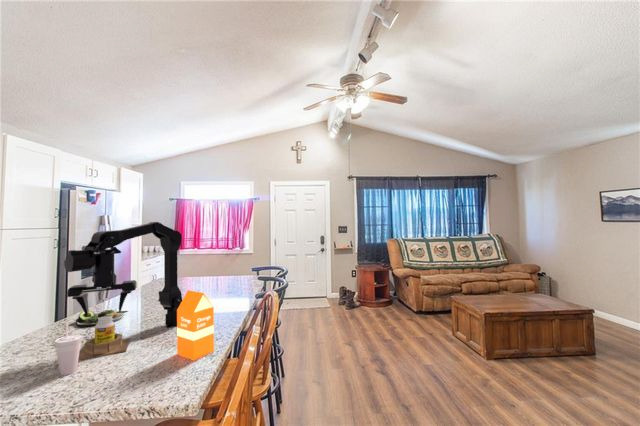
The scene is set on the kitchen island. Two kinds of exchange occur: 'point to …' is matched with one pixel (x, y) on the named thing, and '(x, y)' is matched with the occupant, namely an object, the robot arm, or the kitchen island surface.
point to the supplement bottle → (104, 330)
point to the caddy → (103, 347)
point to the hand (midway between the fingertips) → (103, 313)
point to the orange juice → (195, 326)
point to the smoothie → (68, 352)
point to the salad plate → (93, 318)
